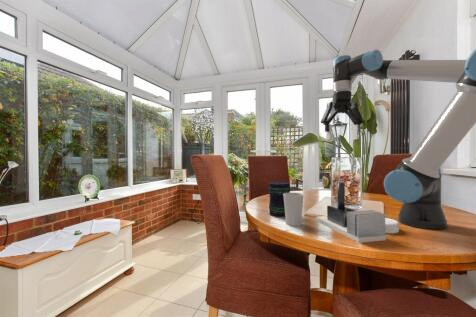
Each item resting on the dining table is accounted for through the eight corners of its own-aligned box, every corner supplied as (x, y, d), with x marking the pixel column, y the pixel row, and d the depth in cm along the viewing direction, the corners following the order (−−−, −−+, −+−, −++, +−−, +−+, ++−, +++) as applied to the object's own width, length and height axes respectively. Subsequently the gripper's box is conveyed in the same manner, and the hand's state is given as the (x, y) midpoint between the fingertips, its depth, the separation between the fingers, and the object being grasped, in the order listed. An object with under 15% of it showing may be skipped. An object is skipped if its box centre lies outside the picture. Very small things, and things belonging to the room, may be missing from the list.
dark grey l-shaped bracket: (334, 218, 90) (334, 182, 89) (341, 217, 90) (341, 181, 90) (364, 231, 74) (364, 187, 74) (373, 230, 75) (373, 187, 74)
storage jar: (290, 217, 101) (289, 184, 101) (268, 216, 104) (267, 183, 103) (290, 212, 111) (290, 181, 111) (270, 211, 113) (269, 181, 113)
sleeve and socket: (322, 220, 92) (322, 202, 92) (344, 218, 94) (344, 201, 94) (358, 237, 72) (358, 215, 72) (385, 235, 74) (385, 213, 74)
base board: (315, 220, 97) (315, 216, 97) (336, 218, 99) (336, 215, 99) (358, 242, 72) (358, 238, 72) (385, 240, 74) (385, 235, 74)
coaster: (364, 230, 84) (364, 221, 84) (369, 223, 92) (369, 215, 92) (397, 236, 78) (397, 226, 78) (400, 228, 85) (400, 219, 85)
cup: (304, 227, 88) (304, 196, 88) (283, 226, 89) (283, 195, 89) (302, 221, 96) (302, 192, 96) (283, 220, 97) (283, 192, 97)
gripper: (360, 95, 109) (360, 139, 110) (312, 93, 104) (313, 139, 105) (372, 91, 102) (372, 138, 102) (321, 88, 97) (322, 138, 97)
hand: (342, 139), depth 103 cm, fingers open, 13 cm apart
